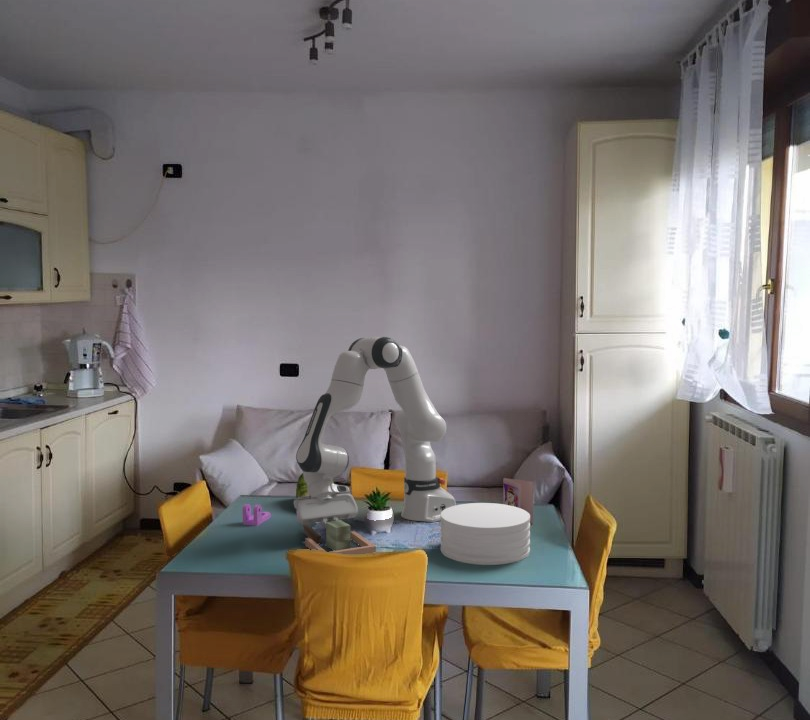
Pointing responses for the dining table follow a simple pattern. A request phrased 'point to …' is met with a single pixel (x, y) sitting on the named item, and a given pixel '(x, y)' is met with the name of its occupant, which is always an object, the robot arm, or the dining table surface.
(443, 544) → the plate stack
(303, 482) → the lettuce
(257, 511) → the bracket
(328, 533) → the sage block
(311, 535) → the walnut chute
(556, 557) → the dining table surface
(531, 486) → the greeting card
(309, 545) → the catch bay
